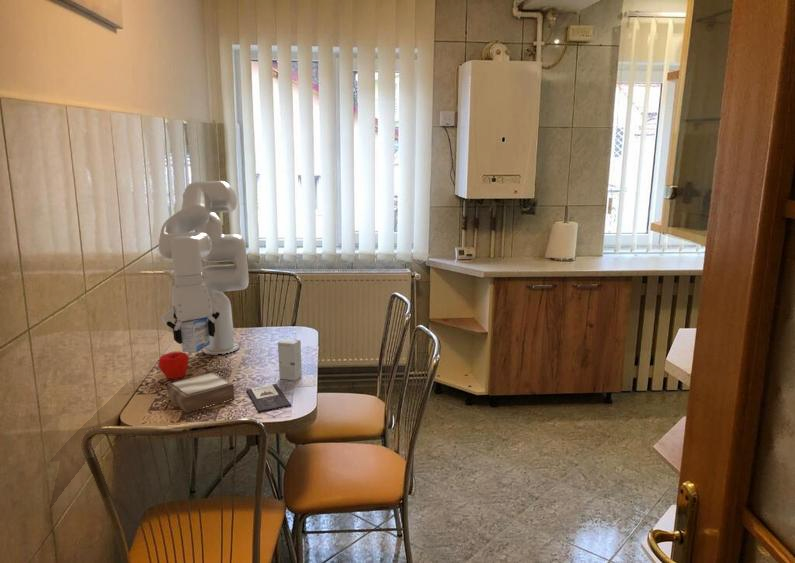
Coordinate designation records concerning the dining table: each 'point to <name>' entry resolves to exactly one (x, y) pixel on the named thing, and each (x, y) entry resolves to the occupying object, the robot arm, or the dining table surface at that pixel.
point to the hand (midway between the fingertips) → (195, 339)
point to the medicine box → (194, 335)
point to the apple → (174, 365)
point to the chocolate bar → (268, 398)
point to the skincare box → (289, 359)
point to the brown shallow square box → (200, 391)
